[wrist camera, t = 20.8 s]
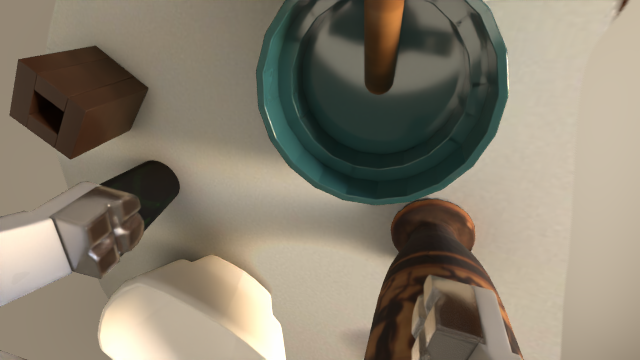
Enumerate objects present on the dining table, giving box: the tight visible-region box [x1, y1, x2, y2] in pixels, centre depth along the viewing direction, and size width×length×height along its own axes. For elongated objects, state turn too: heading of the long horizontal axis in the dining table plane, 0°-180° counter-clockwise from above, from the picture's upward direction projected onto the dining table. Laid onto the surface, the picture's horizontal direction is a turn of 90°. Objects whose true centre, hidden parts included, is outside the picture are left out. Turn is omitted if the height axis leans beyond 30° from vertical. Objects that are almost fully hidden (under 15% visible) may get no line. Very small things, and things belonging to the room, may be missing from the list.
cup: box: [99, 160, 180, 257], centre depth 37 cm, size 8×8×12 cm
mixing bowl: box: [256, 0, 509, 205], centre depth 26 cm, size 17×17×7 cm
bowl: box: [98, 255, 286, 360], centre depth 44 cm, size 22×22×12 cm
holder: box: [10, 46, 148, 159], centre depth 33 cm, size 7×7×8 cm
